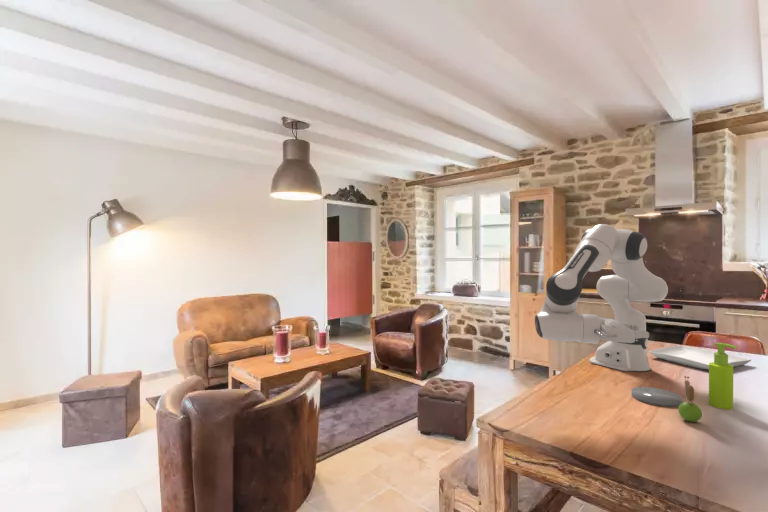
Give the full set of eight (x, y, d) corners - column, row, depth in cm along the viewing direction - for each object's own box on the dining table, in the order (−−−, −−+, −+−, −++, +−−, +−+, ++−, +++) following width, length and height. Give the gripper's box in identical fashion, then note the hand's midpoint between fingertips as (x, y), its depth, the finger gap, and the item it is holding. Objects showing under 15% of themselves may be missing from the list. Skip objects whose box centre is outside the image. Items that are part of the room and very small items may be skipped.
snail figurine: (697, 417, 116) (697, 377, 116) (704, 426, 110) (704, 383, 110) (675, 414, 118) (675, 374, 118) (680, 423, 112) (681, 381, 112)
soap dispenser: (732, 412, 120) (732, 346, 119) (705, 404, 126) (705, 342, 125) (740, 408, 122) (741, 344, 122) (714, 401, 128) (714, 340, 128)
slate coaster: (625, 398, 131) (625, 393, 131) (638, 388, 141) (638, 384, 141) (677, 410, 121) (677, 405, 121) (686, 398, 130) (686, 394, 130)
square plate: (715, 375, 156) (715, 365, 156) (646, 358, 181) (646, 349, 181) (752, 367, 167) (752, 358, 167) (682, 352, 192) (682, 344, 192)
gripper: (599, 324, 111) (655, 327, 107) (585, 313, 131) (632, 315, 127) (599, 346, 111) (655, 350, 107) (584, 332, 131) (632, 335, 127)
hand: (642, 331), depth 117 cm, fingers open, 8 cm apart
